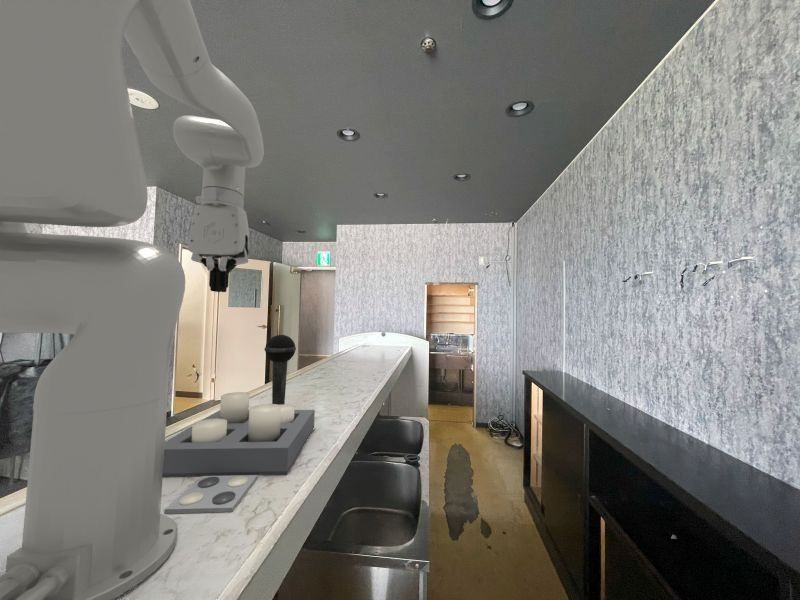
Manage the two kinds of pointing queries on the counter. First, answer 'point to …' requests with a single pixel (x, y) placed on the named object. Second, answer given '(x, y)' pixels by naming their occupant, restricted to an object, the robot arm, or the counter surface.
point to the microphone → (279, 364)
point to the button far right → (287, 413)
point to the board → (237, 450)
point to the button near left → (209, 430)
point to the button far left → (235, 407)
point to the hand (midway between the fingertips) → (218, 291)
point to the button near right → (264, 423)
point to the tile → (213, 494)
